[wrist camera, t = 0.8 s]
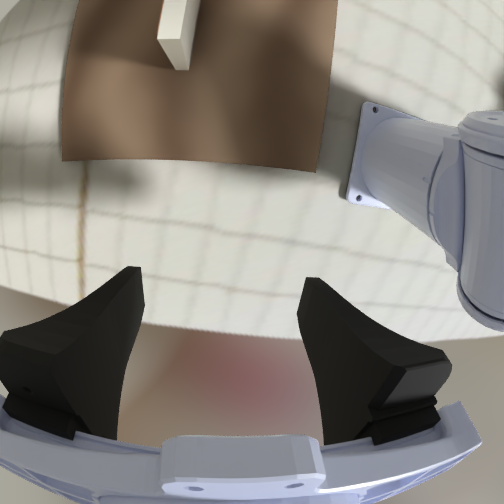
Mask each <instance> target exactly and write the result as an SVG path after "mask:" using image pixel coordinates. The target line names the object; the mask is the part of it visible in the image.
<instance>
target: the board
mask: <svg viewBox="0 0 504 504" xmlns="http://www.w3.org/2000/svg"><path fill="white" fill-rule="evenodd" d="M162 3H163V0H79V4H78V7H77V11H76V16H75V20H74V24H73V29H72V34H71V39H70V45H69V51H68V58H67V65H66V73H65V82H64V93H63V108H62V161H79V160H108V159H158V160H188V161H207V162H222V163H235V164H246V165H257V166H266V167H275V168H284V169H292V170H300V171H307V172H314V173H316V168H317V163H318V157H319V151H320V144H321V138H322V132H323V125H324V118H325V111H326V104H327V97H328V90H329V82H330V74H331V66H332V57H333V48H334V38H335V28H336V17H337V5H338V0H200V2H199V7H198V13H197V19H196V24H195V31H194V37H193V43H192V50H191V57H190V65H189V70H175V68H174V66H173V65H172V63H171V61H170V60H169V58H168V56H167V55H166V53H165V51H164V50H163V48H162V46H161V45H160V43H159V41H158V40H157V37H158V35H157V29H158V24H159V18H160V13H161V8H162Z"/></svg>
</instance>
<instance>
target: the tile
mask: <svg viewBox="0 0 504 504" xmlns="http://www.w3.org/2000/svg"><path fill="white" fill-rule="evenodd" d="M199 2H200V0H163V3H162V8H161V13H160V18H159V24H158V29H157V35H158V37H157V40H158V41H159V43H160V45H161V46H162V48H163V50H164V51H165V53H166V55H167V56H168V58H169V60H170V61H171V63H172V65H173V66H174V68H175V70H189V65H190V57H191V50H192V43H193V37H194V31H195V24H196V19H197V13H198V7H199Z"/></svg>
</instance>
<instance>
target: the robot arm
mask: <svg viewBox="0 0 504 504" xmlns="http://www.w3.org/2000/svg"><path fill="white" fill-rule="evenodd" d="M373 107H375V108H376V112H375V113H374V112H373ZM358 195H360V198H359V199H358V200H356V197H357V196H358ZM346 199H347V201H348V202H350V203H352V204H359V205H366V206H373V207H379V208H385V209H391V210H394V211H395V212H396V213H398V214H399V215H401V216H402V217H403V218H405V219H406V220H407V221H409V222H410V223H411V224H413V225H414V226H415V227H417V228H418V229H419V230H421V231H422V232H423V233H425V234H426V235H427V236H428V237H430V238H431V239H432V240H433V241H435V242H436V243H437V244H438V245H440V246H441V247H442V248H443V249H444V251H445V253H446V262H447V263H448V264H449V265H450V266H452V267H453V268H454V269H455V270H456V271H457V272H459V273H458V277H457V284H456V286H457V294H458V298H459V300H460V302H461V305H462V306H463V308H464V309H465V310H466V312H467V313H468V314H469V315H470V316H471V317H472V318H474V319H475V320H476V321H477V322H479V323H481V324H482V325H484V326H486V327H488V328H491V329H493V330H497V331H501V332H504V111H476V112H472V113H469V114H468V115H467V116H466V117H465V119H464V120H463V121H461V122H460V123H459V124H458V127H453V126H449V125H444V124H438V123H433V122H427V121H424V120H421V119H419V118H416V117H413V116H411V115H408V114H405V113H403V112H400V111H397V110H394V109H391V108H388V107H385V106H382V105H379V104H376V103H372V102H364V103H363V105H362V109H361V116H360V123H359V129H358V135H357V141H356V147H355V152H354V158H353V163H352V168H351V173H350V178H349V183H348V188H347V193H346ZM144 307H145V302H144V293H143V284H142V274H141V267H133V266H127V267H126V268H124V269H123V270H122V271H120V272H119V273H118V274H116V275H115V276H114V277H113V278H111V279H110V280H109V281H107V282H106V283H105V284H103V285H102V286H101V287H100V288H98V289H97V290H95V291H94V292H92V293H91V294H90V295H88V296H87V297H85V298H84V299H82V300H81V301H79V302H78V303H76V304H74V305H72V306H71V307H69V308H67V309H65V310H63V311H61V312H59V313H57V314H55V315H53V316H51V317H48V318H46V319H44V320H41V321H39V322H36V323H33V324H30V325H27V326H23V327H19V328H16V329H12V330H8V331H4V332H3V334H2V335H1V337H0V380H1V382H2V383H3V385H4V386H5V388H6V389H7V391H8V392H9V394H8V396H7V398H5V397H4V396H2V395H1V394H0V466H2V467H3V468H5V469H7V470H9V471H10V472H12V473H14V474H16V475H18V476H20V477H22V478H23V479H25V480H27V481H29V482H32V483H33V484H35V485H37V486H39V487H42V488H44V489H46V490H48V491H50V492H52V493H55V494H57V495H59V496H62V497H64V498H67V499H69V500H72V501H75V502H77V503H80V504H373V503H375V502H378V501H381V500H384V499H386V498H389V497H391V496H394V495H396V494H398V493H401V492H403V491H406V490H408V489H410V488H412V487H415V486H417V485H419V484H421V483H423V482H425V481H427V480H429V479H431V478H433V477H435V476H437V475H439V474H441V473H443V472H445V471H447V470H449V469H450V468H451V467H453V466H454V465H456V464H457V463H458V462H460V461H461V460H462V459H464V458H465V457H466V456H467V455H469V454H470V453H471V452H473V451H474V450H475V449H476V448H477V447H478V446H480V445H481V444H482V440H481V438H480V436H479V434H478V432H477V430H476V428H475V427H474V425H473V423H472V421H471V419H470V417H469V416H468V414H467V412H466V410H465V408H464V407H463V405H462V403H461V402H460V401H457V402H454V403H452V404H449V405H446V406H444V407H442V408H440V409H439V410H438V411H437V410H436V408H435V407H434V405H436V404H437V400H436V398H435V396H434V395H435V394H436V393H437V392H438V390H439V389H440V388H441V387H442V385H443V384H444V383H445V382H446V380H447V379H448V377H449V375H450V373H451V370H452V364H451V362H450V361H449V359H448V358H447V356H446V355H445V353H444V352H443V350H440V349H437V348H434V347H430V346H427V345H424V344H421V343H418V342H416V341H413V340H410V339H408V338H406V337H404V336H401V335H399V334H397V333H395V332H393V331H391V330H389V329H387V328H386V327H384V326H382V325H381V324H379V323H377V322H376V321H374V320H372V319H371V318H369V317H368V316H366V315H365V314H364V313H362V312H361V311H360V310H358V309H357V308H356V307H354V306H353V305H352V304H350V303H349V302H348V301H347V300H346V299H344V298H343V297H342V296H341V295H340V294H338V293H337V292H336V291H335V290H334V289H333V288H331V287H330V286H329V285H328V284H327V283H325V282H324V281H323V280H321V279H320V278H313V277H306V279H305V283H304V287H303V291H302V295H301V299H300V303H299V307H298V311H297V317H298V323H299V329H300V333H301V336H302V339H303V343H304V345H305V349H306V352H307V355H308V358H309V360H310V364H311V367H312V370H313V373H314V377H315V381H316V387H317V392H318V397H319V404H320V410H321V417H322V427H323V437H324V446H319V443H318V440H316V439H314V438H311V437H309V436H307V435H302V434H300V435H299V434H284V435H269V436H268V435H267V436H206V435H180V436H176V437H173V438H170V439H167V440H165V441H164V442H163V443H162V446H161V448H157V447H150V446H143V445H136V444H131V443H126V442H121V441H117V426H118V415H119V414H118V413H119V406H120V398H121V391H122V385H123V380H124V374H125V369H126V366H127V362H128V360H129V356H130V354H131V351H132V348H133V345H134V342H135V339H136V336H137V333H138V331H139V327H140V325H141V321H142V316H143V312H144Z"/></svg>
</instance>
